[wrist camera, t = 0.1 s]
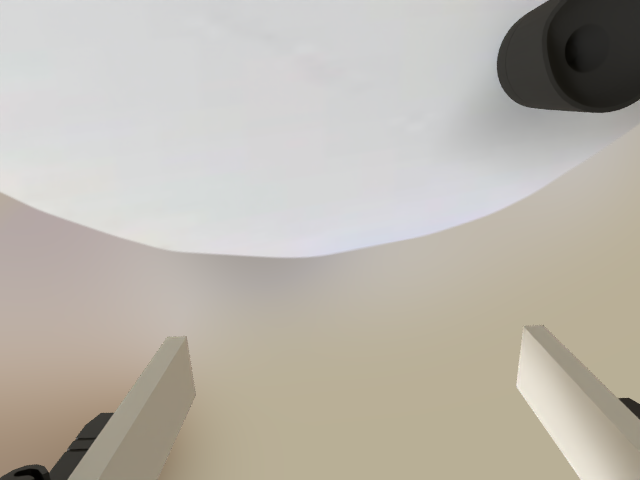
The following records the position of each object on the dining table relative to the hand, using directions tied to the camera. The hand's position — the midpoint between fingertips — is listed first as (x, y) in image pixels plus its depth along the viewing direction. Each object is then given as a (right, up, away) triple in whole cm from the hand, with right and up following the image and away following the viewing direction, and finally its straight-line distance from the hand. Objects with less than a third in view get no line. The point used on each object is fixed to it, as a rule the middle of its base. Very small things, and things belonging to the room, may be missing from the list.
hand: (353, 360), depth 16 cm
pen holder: (+19, +22, +22) cm, 37 cm away
